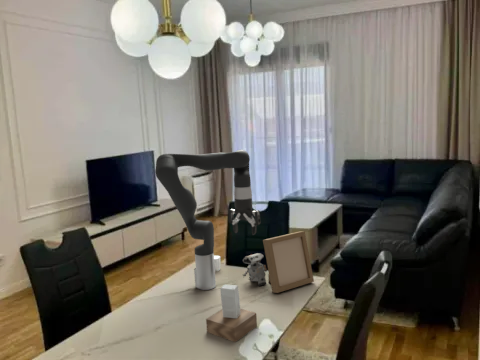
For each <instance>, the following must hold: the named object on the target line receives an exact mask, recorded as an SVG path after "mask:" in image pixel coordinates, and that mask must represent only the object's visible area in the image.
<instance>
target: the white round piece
mask: <svg viewBox="0 0 480 360" xmlns="http://www.w3.org/2000/svg"><path fill="white" fill-rule="evenodd" d="M221 261H222V260H221V256H220V255H215V254H214V264H215V272H220V271H221Z"/></svg>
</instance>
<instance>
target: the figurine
mask: <svg viewBox="0 0 480 360" xmlns="http://www.w3.org/2000/svg"><path fill="white" fill-rule="evenodd" d="M249 254H250V253H249ZM262 259H264V254H262V253H258V252H257V253H254V254H252V253H251V254H250V255H246V256H244V257H243V259H242V262H243V264H248V266H247V267H246V269H247V270H246V271H244V273H243V274H242V276H243V277H246V276H247V275H248V276H249V278H248V280H249V281H250V282H257V286H258V287H263V286H266V285H267V279H266V272H267V271H268V269H267V264H264V263H261V261H262Z"/></svg>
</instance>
